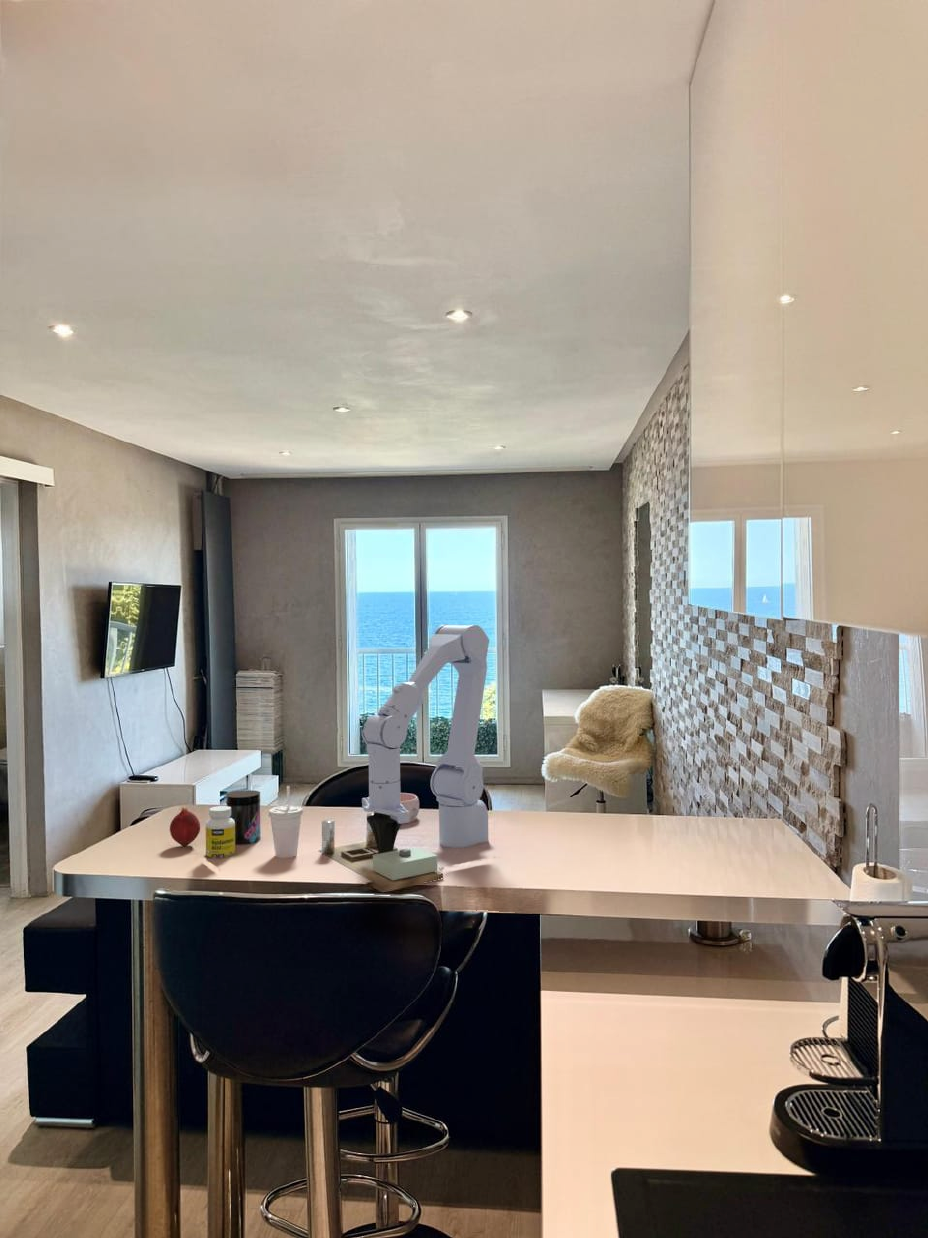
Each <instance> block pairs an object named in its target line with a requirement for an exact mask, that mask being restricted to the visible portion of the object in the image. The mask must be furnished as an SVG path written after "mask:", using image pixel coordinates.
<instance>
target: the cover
mask: <svg viewBox="0 0 928 1238" xmlns="http://www.w3.org/2000/svg"><path fill="white" fill-rule="evenodd" d="M373 870H374V871H376V872H378V873H379V874H381V875H383V876H385V877H387V878H389V879H391V880H397V879H402V878H407V877H411V876H416V875H421V874H425V873H430V872H434V871H438V855H437V854H434V853H432V852H431V851H428V850H427V849H424V848H421V847H419V846H412V847H407V848H403V849H402V848H401V849H398V850H396V851H391V852H386V853H381V854H375V855H373Z"/></svg>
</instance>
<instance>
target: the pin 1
mask: <svg viewBox="0 0 928 1238" xmlns="http://www.w3.org/2000/svg"><path fill="white" fill-rule="evenodd" d="M335 828H336V827H335V820H333V819H324V820H322V821H321V850H322V853H321V854H322V855H324V854H326V855H329V854H333V853H334V848H335V844H336V843H335V837H336V836H335V832H336V831H335ZM326 855H325V856H326Z"/></svg>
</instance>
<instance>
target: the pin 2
mask: <svg viewBox="0 0 928 1238" xmlns="http://www.w3.org/2000/svg"><path fill="white" fill-rule="evenodd" d="M373 814H374V812H367V813H366V818H367V817H368V816H372V815H373ZM365 842H366V845H368V846H373V845H376V841H375V837H374V834H373V831H372V829H371V827H370V825H369V823H368V821H367V820H366V839H365Z"/></svg>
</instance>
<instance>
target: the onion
mask: <svg viewBox="0 0 928 1238" xmlns="http://www.w3.org/2000/svg"><path fill="white" fill-rule="evenodd" d="M200 832H201V823H200V820H199V819H198V817H197V816H196V815H195V814H194V813H193V812H191V811H189V810H188V808H187V806H183V807H181V811H180V812H179V813H177V814H176V815H175V816H174V818H173V819H172V820H171V822H170V824H169V833H170V836H171V838H172V839H173V840H174V842H176V843H177V844H179V845H181V846H182V847H184V848H185V847H187V846H189V845H190V844H191V843H193V842H194V841H195V840H196V838H198V836H199V834H200Z"/></svg>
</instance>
